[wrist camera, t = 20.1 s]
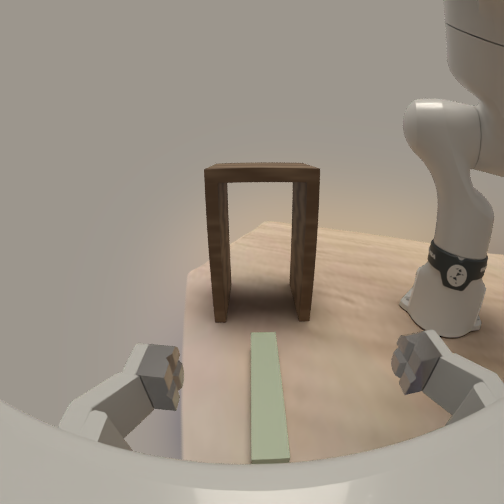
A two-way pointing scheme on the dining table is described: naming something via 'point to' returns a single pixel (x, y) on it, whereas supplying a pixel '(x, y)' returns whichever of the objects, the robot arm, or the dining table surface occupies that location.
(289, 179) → the stand
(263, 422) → the batten
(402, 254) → the dining table surface
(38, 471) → the robot arm
